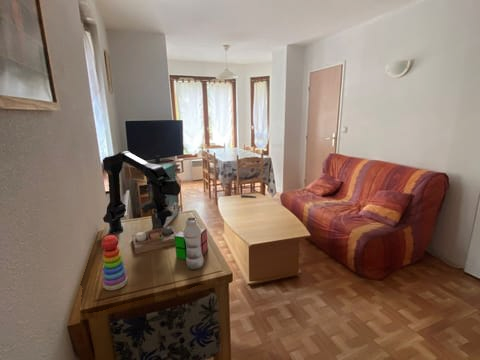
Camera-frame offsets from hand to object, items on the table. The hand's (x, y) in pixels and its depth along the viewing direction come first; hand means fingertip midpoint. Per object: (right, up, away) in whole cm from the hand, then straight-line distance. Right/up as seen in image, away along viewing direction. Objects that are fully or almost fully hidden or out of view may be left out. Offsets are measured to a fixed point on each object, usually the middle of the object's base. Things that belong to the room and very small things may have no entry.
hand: (162, 225), depth 119 cm
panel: (-3, -8, 0) cm, 8 cm away
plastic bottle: (+19, -13, -20) cm, 30 cm away
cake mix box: (-5, -1, +25) cm, 25 cm away
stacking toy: (-8, -16, -29) cm, 34 cm away
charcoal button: (+2, -5, +3) cm, 6 cm away
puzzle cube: (+16, -10, -10) cm, 22 cm away
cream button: (-9, -6, -3) cm, 11 cm away
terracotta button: (-4, -7, 0) cm, 8 cm away
